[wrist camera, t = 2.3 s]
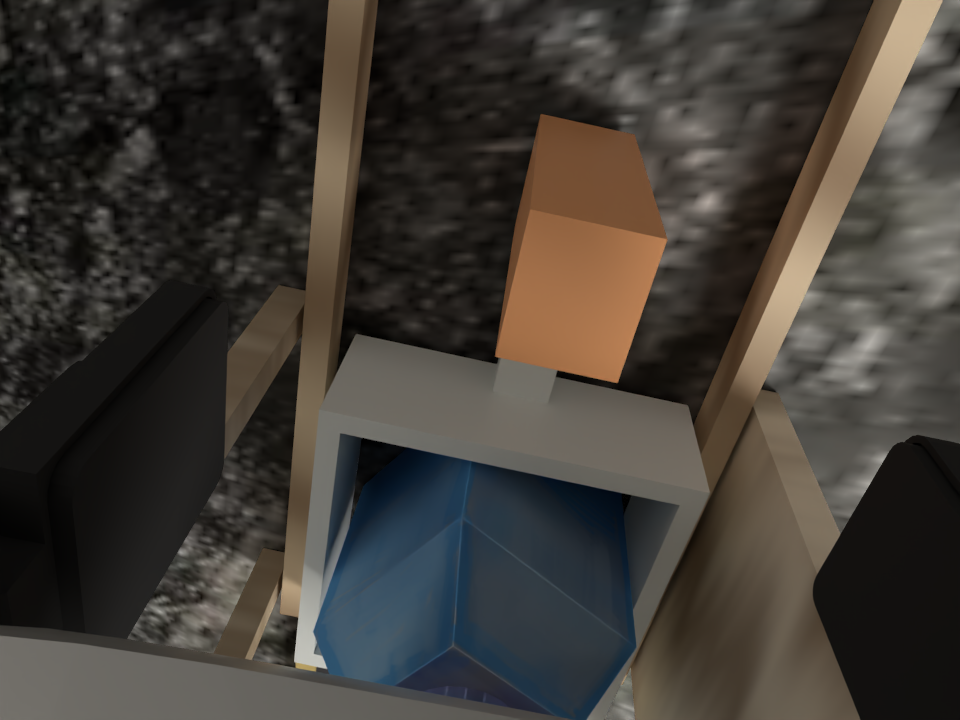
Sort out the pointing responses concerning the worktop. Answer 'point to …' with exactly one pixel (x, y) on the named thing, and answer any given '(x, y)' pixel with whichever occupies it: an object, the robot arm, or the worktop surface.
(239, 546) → the worktop surface
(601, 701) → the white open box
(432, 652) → the perfume bottle
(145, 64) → the worktop surface
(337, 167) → the track
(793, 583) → the tunnel
